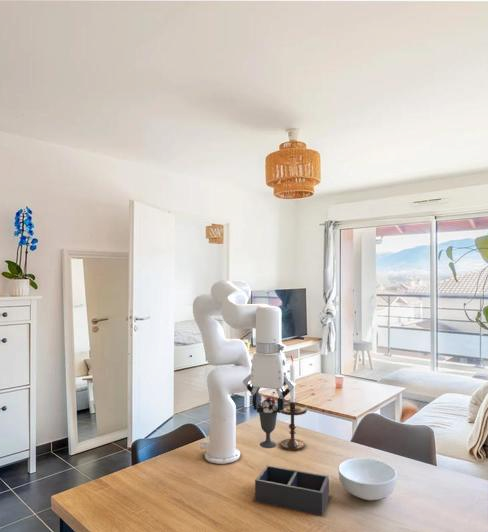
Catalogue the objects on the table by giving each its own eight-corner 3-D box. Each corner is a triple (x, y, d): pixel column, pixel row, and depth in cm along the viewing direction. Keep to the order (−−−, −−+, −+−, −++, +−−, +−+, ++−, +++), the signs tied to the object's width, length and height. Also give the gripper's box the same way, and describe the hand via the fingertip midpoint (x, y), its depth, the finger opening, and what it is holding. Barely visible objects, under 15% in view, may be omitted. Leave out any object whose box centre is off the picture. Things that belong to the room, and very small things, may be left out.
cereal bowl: (357, 474, 131) (357, 452, 132) (407, 493, 119) (406, 469, 120) (327, 493, 119) (327, 469, 120) (378, 517, 108) (378, 490, 108)
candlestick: (279, 452, 148) (279, 356, 149) (277, 440, 159) (277, 351, 160) (308, 452, 148) (308, 356, 149) (304, 440, 159) (304, 351, 160)
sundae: (283, 442, 118) (283, 391, 118) (274, 451, 112) (274, 396, 112) (262, 438, 121) (263, 388, 121) (252, 446, 115) (253, 393, 115)
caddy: (322, 515, 108) (322, 493, 108) (254, 501, 115) (254, 480, 115) (328, 496, 118) (328, 476, 118) (266, 484, 124) (266, 465, 125)
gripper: (300, 348, 118) (300, 409, 117) (246, 344, 124) (246, 403, 123) (293, 352, 111) (293, 417, 110) (236, 348, 117) (235, 410, 117)
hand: (268, 409), depth 117 cm, fingers closed on sundae, 6 cm apart
